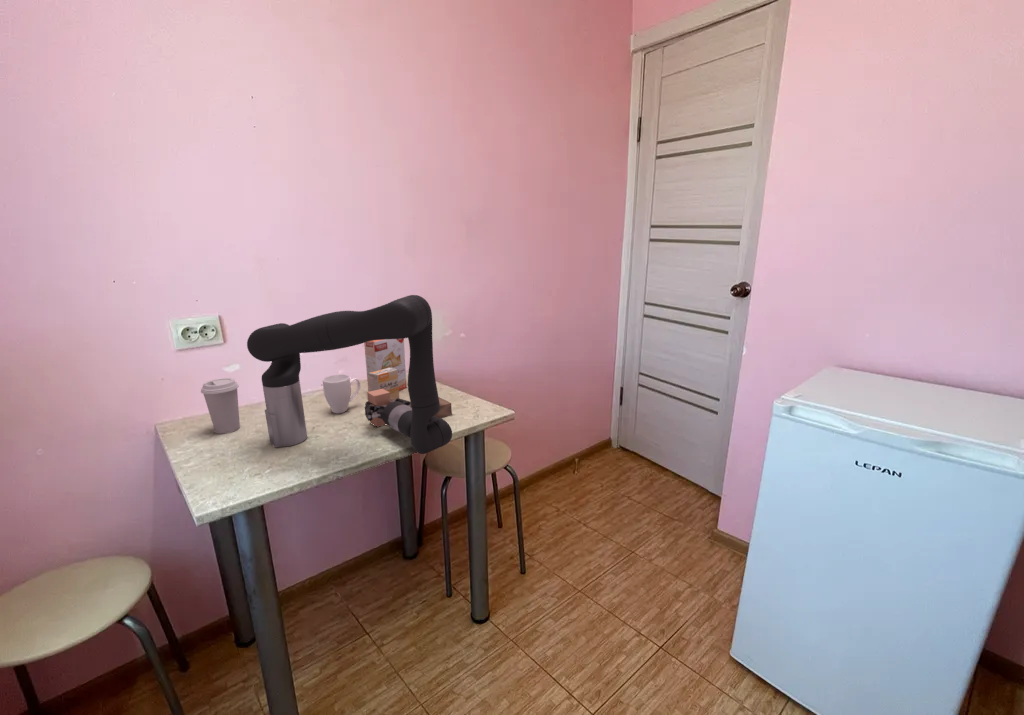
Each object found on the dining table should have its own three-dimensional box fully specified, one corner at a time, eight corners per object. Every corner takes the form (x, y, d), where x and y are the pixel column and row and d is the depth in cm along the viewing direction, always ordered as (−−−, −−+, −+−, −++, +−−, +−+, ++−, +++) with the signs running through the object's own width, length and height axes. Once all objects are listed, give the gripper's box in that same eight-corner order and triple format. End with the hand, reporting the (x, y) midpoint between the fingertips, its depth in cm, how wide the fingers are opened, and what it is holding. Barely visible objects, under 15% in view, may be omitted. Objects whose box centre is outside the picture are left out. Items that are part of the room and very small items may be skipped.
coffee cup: (212, 425, 142) (203, 379, 138) (247, 421, 146) (239, 375, 142) (205, 438, 134) (195, 389, 130) (243, 432, 137) (234, 384, 133)
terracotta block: (377, 427, 139) (374, 396, 137) (370, 422, 143) (367, 392, 141) (392, 423, 143) (389, 392, 140) (385, 418, 146) (382, 388, 144)
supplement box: (380, 413, 151) (377, 374, 147) (371, 410, 154) (368, 372, 150) (400, 405, 157) (397, 368, 154) (391, 403, 160) (388, 366, 157)
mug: (333, 417, 147) (329, 383, 144) (322, 411, 153) (318, 378, 150) (367, 407, 156) (364, 375, 153) (355, 401, 161) (352, 370, 158)
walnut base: (424, 422, 142) (423, 410, 141) (408, 413, 150) (407, 402, 149) (451, 414, 149) (451, 403, 148) (435, 406, 156) (434, 395, 155)
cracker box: (379, 398, 164) (374, 341, 159) (368, 395, 167) (362, 339, 162) (408, 388, 175) (404, 334, 170) (396, 385, 179) (392, 332, 173)
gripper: (422, 399, 134) (396, 385, 147) (376, 411, 125) (351, 396, 138) (424, 423, 136) (397, 408, 149) (378, 437, 127) (354, 419, 140)
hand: (375, 402), depth 143 cm, fingers closed on terracotta block, 5 cm apart
